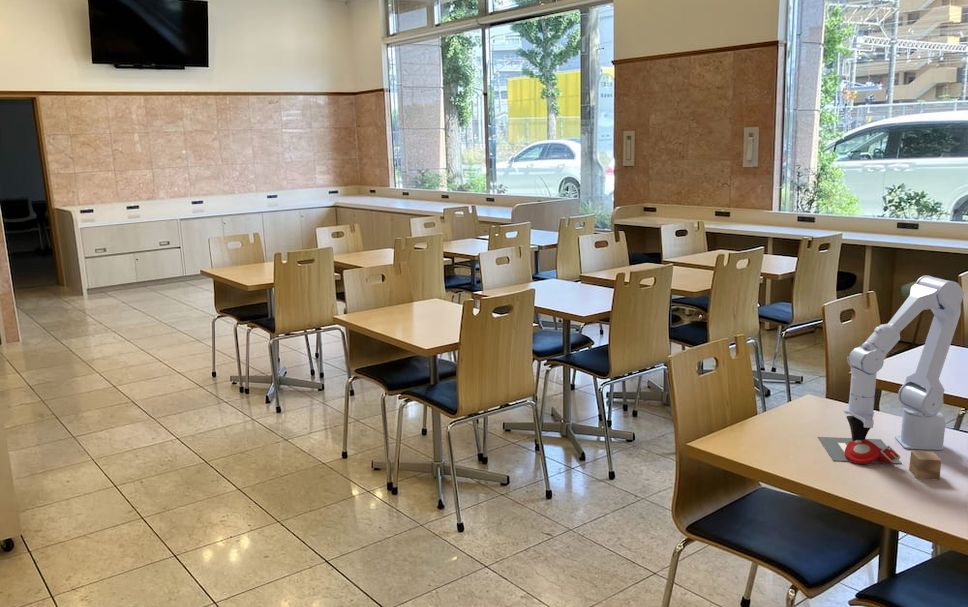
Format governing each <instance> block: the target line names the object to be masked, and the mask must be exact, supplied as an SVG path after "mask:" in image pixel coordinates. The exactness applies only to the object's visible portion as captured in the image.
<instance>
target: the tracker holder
mask: <svg viewBox="0 0 968 607" xmlns="http://www.w3.org/2000/svg"><path fill="white" fill-rule="evenodd" d="M866 439H867V438H865V440H856V441H850V442H849V443H848V445H847V446H846V449H845V453H844V454H845V457H846V458H847V459H848V460H849V461H851V462H850V463H854V464H859V465H862V464H863V465H867V464H871V462H873V461H875V460H879V461H882V462H885V463H884V464H888V463H889V464H891V463H893V462H895V461H896V460H898V459H899V460H900V458H901V456H900V454H898V453H897V451H896V450H894V448H892V447H891V446H890V445H886V446H887V447H886V448H884V449H881V448H879V447H878V446H876V445H875V444H874V443H872V442H870V441H869V440H866ZM887 448H889V449H887ZM889 464H888V465H889ZM891 465H892V464H891Z"/></svg>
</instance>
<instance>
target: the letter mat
mask: <svg viewBox="0 0 968 607" xmlns="http://www.w3.org/2000/svg"><path fill="white" fill-rule="evenodd" d="M817 439H818V441H820V443H821V445H822V446H823V447H824V449H825V451H826V452H827V454H828V456H829V457H830V458H831V460H832V461H833V462H846V463H848V462H849V463H852V462H851V461H849V460H848V459H847V458H846V457H845V454H844V453H845V449H846V446H847V445H848V443H849V442H850V441H852V437H836V436H835V437H834V436H833V437H832V436H817ZM865 439H866V440H869V441H870V442H872V443H874V444H875V445H876V446H878V447H879V448H881V449H884V448H886V447H887V446H888V445H887V444H886V443H885V442H884V441H883V440H882V439H881V438H865ZM887 449H889V448H887ZM871 463H872V464H886V463H885V462H882V461H879V460H875V461H873V462H871ZM871 463H870V464H871ZM887 464H888V465H889V463H887ZM891 465H902V462H901V461H900V458H899V459H898V460H896V461H895V462H893V463H891Z"/></svg>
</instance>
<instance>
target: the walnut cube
mask: <svg viewBox="0 0 968 607" xmlns="http://www.w3.org/2000/svg"><path fill="white" fill-rule="evenodd" d="M941 468H942V459H941V458H940V457H939V456H938V455H937V454H936V453H935V451H921V450H920V451H917V450H914V451H913V450H911V451H910V458H909V468H908V471H909V473H911V474H912V475H913V476H914V478H915V479H916V480H931V481H932V480H933V481H934V480H935V481H940V478H941Z"/></svg>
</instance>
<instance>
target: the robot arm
mask: <svg viewBox="0 0 968 607" xmlns="http://www.w3.org/2000/svg"><path fill="white" fill-rule="evenodd" d="M964 296H965V292H964V290H963V288H962V287H961V285H960V284H959V283H958V282H956V281H954V280H948V279H947V280H946V279H942V278H939V277H934V276H931V275H929V274H928V275H922V276H921V277H919V278H918V279H917V280H916V282H915V283H914V284H913V285H912V286H911V287H910V293H909V295H908V297H907V298H906V300H905V301H904V302H903V304H902V305H901V306H900V308H898V309H897V311H896V313H894V315H893V316H892V318H891V319H890V320H889V321H888V323H884V324H880V325H878V326H876V327H875V328H874V330H873V332H872V334H871V335H870V336H869V337H867V339H866V340H865V342H863V343H862V344H861V346H858V347H855V348H854V349H852V350H851V351H850V352H849V356H847V357H846V359H847V363H848V365H849V368H850V373H851V375H850V388H849V390H850V391H849V398H848V400H849V401H848V405H847V408H843V410H842V411H843V413H844V414H845V415H846V419H847V421H848V425H849V428H850V434H851V438H852V441H856V440H865V439H867V438H866V437H867V435H868V433H869V432H870V430H871V429H873V428H874V423H875V422H874V414H875V411H874V406H875V395H876V394H875V393H876V386H877V385H876V384H877V383H876V382H877V375H878V374H877V373H878V372H879V371H881V369H882V368H883V366H884V362H885V359H886V358H887V354H888V353H889V352H890V351H891V350H892V349H893V347H895V346H896V345H897V344H898V342H899V341H900V340H901V332H902V331H903V330H904V329H905V328H906V327H907V326H908V325H909V324H910V323H911V322H913V320H914V319H915V318H916V317H917V316H918V315H919V314H920V313H921V312H923V311H924V310H926V311H927V310H931V313H933V317H932V320H931V324H930V327H929V331H928V333H927V336H926V339H925V342H924V346H923V349H922V351H921V355H920V358H919V361H918V364H917V366H916V370H915V372H914V373H912V374H910V375H908V376H907V377H906V378H905V381H904V383H903V384H902V386H901V387H900V388H899V390H898V393H897V397H898V400H899V402H900V403H901V404H902V405H901V408H902V409H903V410H902V420H901V421H902V422H901V431H900V432H901V433H900V435H895V436H894V438H895V440H897V441H898V443H899V444H900V445H901V447H903V448H904V449H907V450H908V449H909V450H932V451H943V450H945V448H944V442H945V441H944V439H945V431H946V421H945V416H944V415H943V413H942V412H941V410H942V408H943V406H944V394H945V388H944V386H943V384H942V382H941V381H940V377H941V374H942V371H943V368H944V364H945V362H946V359H947V356H948V353H949V350H950V347H951V344H952V341H953V338H954V335H955V332H956V328H957V327H958V323H959V320H960V317H961V314H962V313H961V312H962V308H961V305H962V301H963V299H964Z"/></svg>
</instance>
